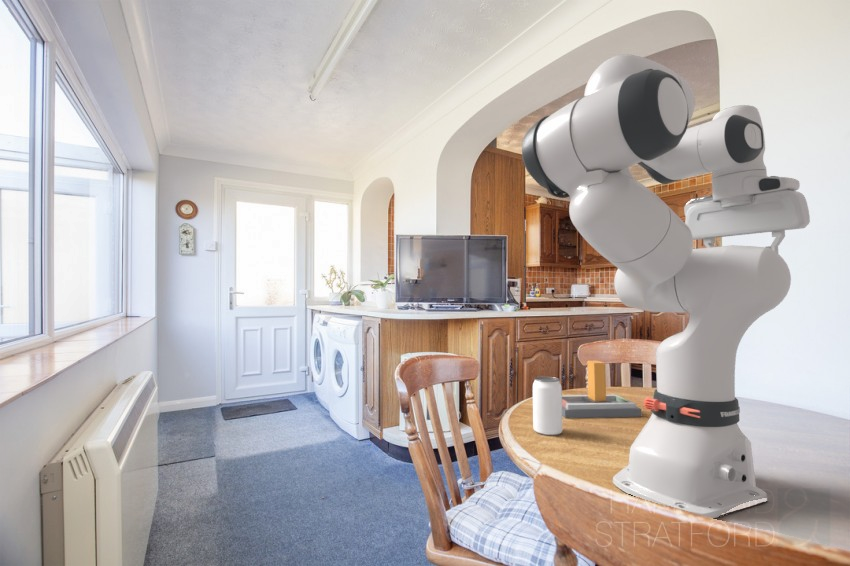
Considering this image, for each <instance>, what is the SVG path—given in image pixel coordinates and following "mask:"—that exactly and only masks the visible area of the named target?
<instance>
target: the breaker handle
mask: <svg viewBox="0 0 850 566" xmlns="http://www.w3.org/2000/svg"><path fill="white" fill-rule="evenodd" d="M606 378H607V377H606V363H605V362H603V361H600V360H587V395H588V396H583V400H584V401H586V402H587V403H612V402H611V401H609V400H607V399H606V395H607V391H606V388H607V384H606V381H607V379H606Z"/></svg>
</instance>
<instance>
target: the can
mask: <svg viewBox="0 0 850 566" xmlns="http://www.w3.org/2000/svg"><path fill="white" fill-rule="evenodd" d="M560 380H561V379H560V378H558V377H554V376H553V377H552V376H545V375H544V376H543V375H542V376H536V377H534V381H533V383H532V425H533V426H532V428H533V429H532V430H534V432H535V433H536V434H537V433H538V435H539V434H540V435H544V436H550V437H551V436H558V435H561V433H563V416H562V395H563V390H562V385H561V382H560Z"/></svg>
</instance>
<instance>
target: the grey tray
mask: <svg viewBox="0 0 850 566" xmlns="http://www.w3.org/2000/svg"><path fill="white" fill-rule="evenodd" d="M583 396H588V394H566V395H565V394H562V418H564V419H584V418H585V419H588V418H591V419H592V418H595V419H596V418H597V419H598V418H599V419H600V418H639V417H640V418H642V417H643V416H642V415H643V414H642V413H643V412H642V408H641V407H638V406H637V403H635V402H634V401H631V400H629V399H627V398H625V397H623V396H621V395H618V394H606V399H607V400H609V401H611V402H612V403H587V402H586V401H584V400H583Z"/></svg>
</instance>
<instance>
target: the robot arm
mask: <svg viewBox="0 0 850 566" xmlns="http://www.w3.org/2000/svg"><path fill="white" fill-rule="evenodd" d="M695 99H696V98H695V93H694V90H693V88H691V85H690V84H689V82H688V81H687V80H686V79H685V78H684V77H682V76H681V75H680V74H679V73H676V72H675V71H673V70H672V69H670V68H669V67H667V66H665V65H663V64H661V63H659V62H657V61H655V60H652V59H650V58H646V57H642V56H640V55H635V54H629V53H628V54H627V53H626V54H625V53H624V54H619V55H615V56H612V57H610V58H609V59H606V60H604V62H601V64H600V65H599V66H597V67H596V68H595V69H594V71H593V72H592V74H591V76H590V77H589V78H588V81H587V83H586V85H585V89H584V94H583V96H581V97H579V98H577V99H575V100H573V101H571V102H570V103H568V104H565V105H564V106H563V107H561V108H559V109H558V110H556V111H555V112H553V113H552V114H550V115H546V116H544V117H542V118H541V119H539V120H538V121H537V122H535V123H534V124H533V125H532V126H531V127H530V128H529V129H528V130H527V132H526V133H525V134H524V136H523V138H522V143H521V156H522V162H523V165H524V167H525V169H526V171H527V173H528V174H529V175H530V176H531V178H532V179H533V180H534V181H535V182H536V183H537V184H538V185H539V186H541V187H542V188H543V189H546V190H547V192H548V194H549V195H551V196H552V197H555V198H560V199H564V198H570V199H569V200H570V201H569V207H568V209H569V210H568V212H569V213H568V214H569V218H570V220H571V223H572V225H573V226H574V227H575V229H576V230H577V232H578V233H579V234H580V235H581V236H582V238H583V239H584V240H585V242H587V243H588V244H589V246H591V247H592V248H593V249H594V250H595V251H596V252H597V253H599V255H601V256H602V257H603V258H605V259H606V260H607V261H608V262H610V264H612V265H613V266H615V267H616V269H617V270H616V272H615V275H614V277H613V278H614V280H613V284H614V285H613V286H614V290H615V294H616V296H617V297H618V299H619V300H620V302H621V303H622V304H623V305H624V306H626V307H627V308H630V309H631V308H632V309H637V310H641V311H644V312H645V311H646V312H651V313H677V314H679V313H682V314H689V317H688V319H689V320H688V323H687V326H686V327H685V328H684V330H683V331H681V332H677V333H675V334H673V335H671V336H668V337H667V338H665V339H664V340H663V341H661V343H660V344H659V345H658V346H657V349H656V350H655V365H656V366H655V367H656V368H655V369H656V370H655V374H656V389H655V390H654V393H653V396H652V398H651V397H648V396H646V397H645V398H644V400H643V407H644V409H646V410H648V411H649V410H650V411H651V415H650V417H649V419H648V420H647V421H646V423H645V424H644V426H643V427H642V429H641V430H640V432H639V433H638V435H637V436H636V438H635V440H633V442H632V444H631V445H630V448H629V455H628V464H627V465H626V466H624V467H623V468H622V469H621V470H620V471H618V472H617V473H616V474H615V475H613V477H612V483H613V485H614V486H615V487H617V488H618V489H620V491H623V492H624V493H626V494H628V495H629V494H631V495H633V496H636V497H640V498H642V499H645V500H648V501H652V502H655V503H658V504H663V505H667V506H671V507H674V508H677V509H682V510H685V511H688V512H692V513H695V514H699V515H703V516H707V517H712V518H713V519H715V518H719V516H720V515H721V514H722V513H726V512H727V511H729V510H730V509H732V508H734V507H736V506H738V505H740V504H743V503H746V502H749V501H753V500H758V499H762V498H768V493H766V491H764V490H763V489H761V488H759V487H758V486H756V477H755V468H754V458H753V457H754V456H753V450H752V443H751V440H750V439H749V438H748V437H747V436H746V435H745V433H744V432H743V431H742V430H741V428H740V426H739V424H738V423H739V422H740V413H741V409H740V404H739V399H738V398H737V397H736V391H735V389H736V387H735V385H736V383H735V381H736V379H735V378H736V377H735V375H736V358H737V351H738V348H739V345H740V343H741V341H742V338H744V337H743V336H744V335H745V334H746V332H747V330H748V329H750V327H751V326H752V325H753V324H754V323H755V322H756V321H757V320H758V319H759V318H761V317H762V316H763V315H764V314H766V313H768V312H771V311H772V310H774V309H775V308H777V306H779V305H780V304H781V303H782V302H783V301H784V299H785V298H786V297H787V295H788V293H789V291H790V288H791V281H792V277H791V272H790V268H789V266H788V264H787V262H786V261H785V259H784V258H783V257H782V256H781V255H780V254H779V246H780V245H781V243H782V242H783V240H784V239H785V237H786V231H791V230H799V229H800V230H801V229H805V228H806V227H807V226H808V225H810V223H811V222H810V221H811V220H810V218H811V217H810V210H809V206H808V202H807V199H806V197H805V195H804V194H803V193H802V192H800V191H798V190H799V189H800V185H801V183H800V181H799V179H796V178H792V177H787V176H784V177H783V176H776V175H771V176H768V174H767V166H766V164H765V162H764V154H765V151H766V141H765V133H764V126H763V122H762V118H761V115H760V112H759V109H758V108H757V107H756V106H754V105H749V104H747V105H745V104H741V105H734V106H730V107H727V108H724V109H722V110H719V112H717V113H716V114H715V115H714V116H713V117H712V120H710V121H707V122H703V123H701V124H698V125H694V126H692V127H688V126H689V125H690V122H691V120H692V118H693V116H694V112H695V111H694V110H695V106H696V104H695V103H696V100H695ZM634 165H639V166H640V167H641V168H643V169H644V170H645V172H647V174H648V176H650V178H652V180H654V181H656V182H657V183H659V184H662V185H669V184H671V183H675V182H678V181H682V180H684V179H688V178H692V177H696V176H698V177H699V176H702V175H705V174H711V173H712V175H711V189H712V190H711V192H712V193H711V194H710V195H705V196H702V197H694V198H691V199H690V200H689V201H688V202H687V203H686V204H685V205H684V208H683V209H684V216H685V220H684V221H683V220H682V219H681V218H680V217H679V215H677V213H676V212H674V210H672V208H671V207H669V205H668V204H666V203H665V201H664V200H663V199H661V198H660V197H659V196H658V195H657V194H656V193H655V192H653V191H652V190H651V189H649V188H648V187H647V186H646V185H644V184H642V183H641V182H639V181H637V180H635V179H634V177H633V175H632V173H631V170H630V167H632V166H634ZM764 233H771V237H772V238H774V239H773V241H772V243H771V244H770V245H769V246H754V245H753V246H752V245H734V244H732V245H730V244H729V245H722V246H715V245H714V244H715V243H716V238H724V237H735V236H745V235H752V234H754V235H755V234H764ZM697 240H703V245H704V246H705V247H700V248H694V241H697ZM631 495H630V496H631ZM754 495H755V496H754ZM633 496H632V497H633ZM720 517H721V516H720Z"/></svg>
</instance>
